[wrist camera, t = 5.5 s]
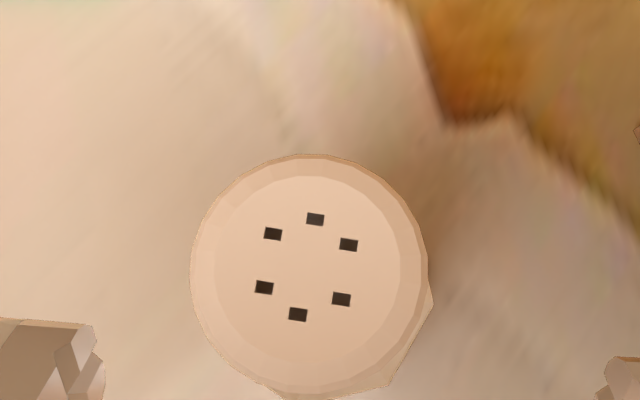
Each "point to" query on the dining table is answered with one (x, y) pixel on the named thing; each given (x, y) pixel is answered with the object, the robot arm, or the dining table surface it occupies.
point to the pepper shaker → (311, 277)
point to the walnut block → (637, 133)
